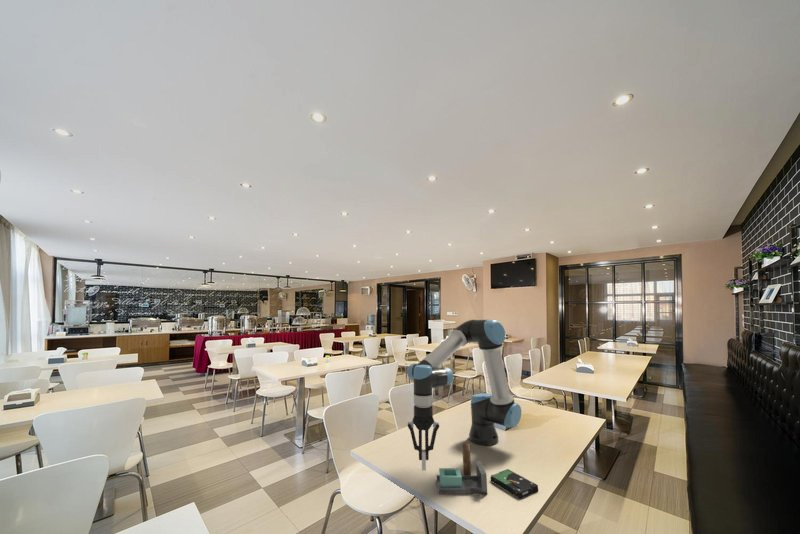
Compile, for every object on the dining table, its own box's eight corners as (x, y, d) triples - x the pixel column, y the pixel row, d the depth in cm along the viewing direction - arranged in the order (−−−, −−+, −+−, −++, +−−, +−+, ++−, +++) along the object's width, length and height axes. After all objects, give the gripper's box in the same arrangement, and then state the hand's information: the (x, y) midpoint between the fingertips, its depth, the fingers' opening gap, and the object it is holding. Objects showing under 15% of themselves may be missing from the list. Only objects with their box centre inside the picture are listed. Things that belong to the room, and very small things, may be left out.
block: (459, 479, 126) (459, 468, 127) (462, 488, 119) (461, 477, 120) (439, 479, 127) (439, 468, 127) (441, 488, 120) (440, 477, 120)
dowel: (470, 473, 133) (469, 443, 135) (472, 477, 130) (470, 446, 132) (462, 473, 133) (461, 442, 135) (464, 477, 130) (463, 446, 132)
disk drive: (539, 493, 119) (507, 475, 132) (538, 484, 120) (507, 468, 132) (520, 501, 114) (489, 482, 127) (520, 492, 115) (489, 474, 127)
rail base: (481, 480, 127) (480, 461, 128) (487, 494, 117) (486, 474, 119) (436, 480, 128) (436, 461, 129) (438, 493, 118) (438, 473, 119)
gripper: (438, 402, 131) (439, 464, 128) (407, 402, 132) (407, 464, 128) (440, 408, 124) (441, 473, 120) (406, 407, 124) (407, 473, 121)
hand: (423, 468), depth 124 cm, fingers closed
